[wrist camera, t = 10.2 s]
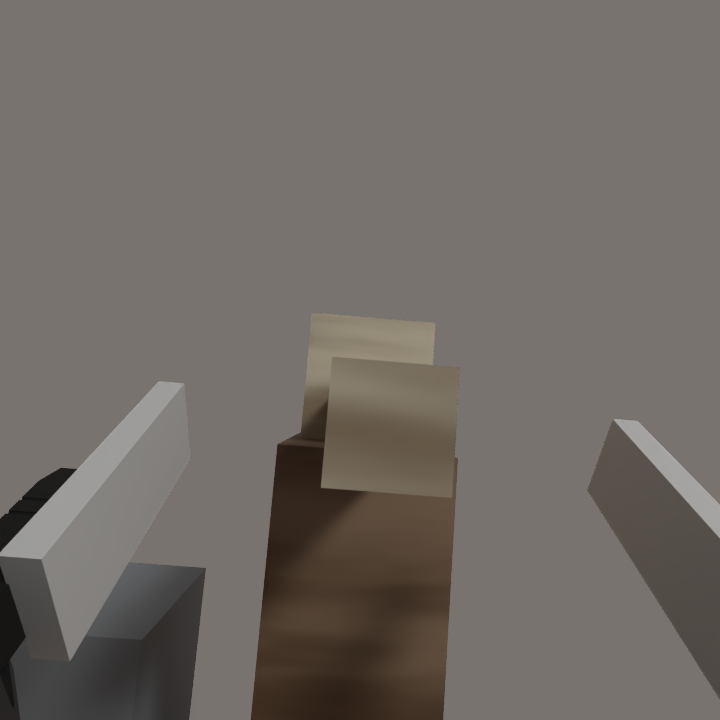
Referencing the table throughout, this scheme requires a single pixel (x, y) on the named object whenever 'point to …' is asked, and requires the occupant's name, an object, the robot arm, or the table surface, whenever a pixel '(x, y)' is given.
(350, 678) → the walnut plinth
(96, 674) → the grey pedestal
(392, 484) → the tan wooden bar
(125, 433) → the robot arm
